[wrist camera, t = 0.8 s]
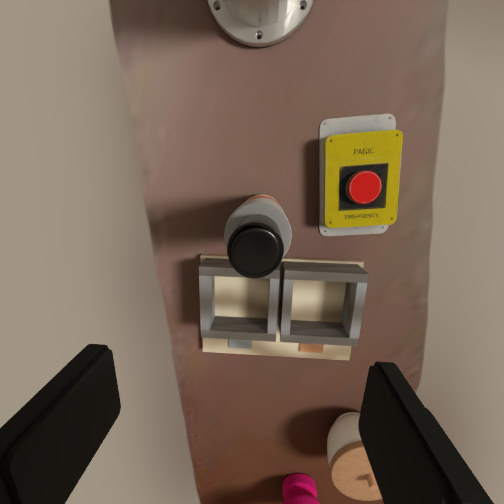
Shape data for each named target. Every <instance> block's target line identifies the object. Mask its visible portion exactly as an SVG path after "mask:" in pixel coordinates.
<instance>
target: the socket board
mask: <svg viewBox="0 0 504 504" xmlns="http://www.w3.org/2000/svg"><path fill="white" fill-rule="evenodd" d="M200 260H201V265H200V266H199V290H200V324H201V338H203V352H218V353H234V354H251V355H268V356H285V357H301V358H318V359H335V360H349V358H350V352H351V346H358V339H359V333H360V327H361V320H362V314H363V308H364V301H365V295H366V289H367V282H368V276H369V274H368V273H367V272H366V271H365V270H364V269H363V265H364V262H363V261H362V260H343V259H319V258H295V257H283V258H282V261H281V263H280V264H279V266H278V267H277V268H276V269H275V270H274V271H273V272H272V273H271V274H269V275H267V276H265V277H262V278H248V277H245V276H242V275H241V274H239V273H238V272H237V271H236V270H235V269H234V268H233V267H232V265H231V263H230V261H229V258H228V255H223V254H201V255H200Z"/></svg>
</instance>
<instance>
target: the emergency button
mask: <svg viewBox="0 0 504 504" xmlns="http://www.w3.org/2000/svg"><path fill="white" fill-rule="evenodd" d="M395 126H396V121H395V117H394V116H393V115H392V114H378V115H367V116H355V117H344V118H332V119H326V120H324V121H323V122H322V123H321V124H320V129H319V230H320V233H321V234H322V235H323V236H340V235H359V234H378V233H383V232H385V231H386V230H387V228H388V225H391V224H393V223H394V222H395V221H396V218H397V206H398V193H399V180H400V168H401V155H402V142H403V134H402V132H401V131H400V130H395Z"/></svg>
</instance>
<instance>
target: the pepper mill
mask: <svg viewBox="0 0 504 504" xmlns="http://www.w3.org/2000/svg"><path fill="white" fill-rule="evenodd" d="M282 487H283V497H284V501H283V503H282V504H320V503H319V501H318V500H317V499H316V498H317V491H316V485H315V482H314V480H313V479H312V478H311V477H310V476H308V475H306V474H302V473H294V474H291V475H289V476H287V477H286V478H285V479H284V481H283V484H282Z"/></svg>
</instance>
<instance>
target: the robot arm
mask: <svg viewBox="0 0 504 504" xmlns="http://www.w3.org/2000/svg"><path fill="white" fill-rule="evenodd" d="M207 1H208V4H209V7H210V10H211V12H212V14H213V16H214V18H215V20H216V22H217V23H218V24H219V26H220V27H221V28H222V30H223V31H224V32H225V33H226V34H228V35H229V36H230V37H231V38H232V39H234V40H236V41H238V42H239V43H241V44H244V45H248V46H251V47H265V46H271V45H274V44H276V43H279V42H282V41H283V40H285V39H286V38H288V37H289V36H291V35H292V34H293V33H294V32H295V31H296V30H297V29H298V28H299V27H300V25H301V24H302V23H303V21H304V20H305V19H306V17H307V15H308V13H309V11H310V9H311V7H312V4H313V1H314V0H207ZM301 8H303V9H304V10H301ZM217 9H219V10H217ZM258 37H261V39H257V38H258ZM120 408H121V405H120V398H119V391H118V385H117V379H116V372H115V366H114V360H113V354H112V351H111V350H110V349H109V348H108V346H107V345H99V344H89V345H87V346H86V347H85V348H84V349H83V350H82V351H81V352H80V353H79V354H77V355H76V356H75V357H74V358H73V359H72V360H71V361H70V362H69V363H68V364H67V365H66V366H65V367H64V368H63V369H62V370H61V371H60V372H59V373H58V374H57V375H56V376H55V377H53V379H52V380H50V381H49V382H48V383H47V384H46V385H45V386H44V387H43V388H42V389H41V390H40V391H39V392H38V393H37V394H36V395H35V396H34V397H33V398H32V399H30V401H28V402H27V403H26V404H25V406H23V407H22V408H21V409H20V410H19V411H18V412H17V413H16V414H15V415H14V416H13V417H12V418H11V419H10V420H9V421H8V422H6V424H4V425H3V426H2V427H1V428H0V504H65V502H66V501H67V499H68V497H69V496H70V494H71V492H72V491H73V489H74V488H75V486H76V484H77V483H78V481H79V479H80V478H81V476H82V475H83V473H84V471H85V470H86V468H87V466H88V465H89V463H90V461H91V460H92V458H93V457H94V455H95V453H96V452H97V450H98V448H99V447H100V445H101V444H102V442H103V440H104V439H105V437H106V435H107V434H108V432H109V430H110V429H111V427H112V426H113V424H114V422H115V420H116V419H117V417H118V415H119V413H120ZM358 429H359V434H360V437H361V440H362V443H363V446H364V448H365V451H366V454H367V457H368V460H369V463H370V465H371V468H372V471H373V474H374V477H375V479H376V482H377V485H378V488H379V491H380V494H381V496H382V499H383V502H384V504H494V503H493V502H492V500H491V499H490V498H489V496H488V495H487V493H486V492H485V490H484V489H483V487H482V486H481V484H480V483H479V482H478V480H477V479H476V477H475V476H474V474H473V473H472V471H471V470H470V468H469V467H468V466H467V464H466V463H465V461H464V460H463V458H462V457H461V455H460V454H459V452H458V451H457V449H456V448H455V447H454V445H453V444H452V442H451V441H450V439H449V438H448V436H447V435H446V434H445V432H444V431H443V429H442V428H441V426H440V425H439V423H438V422H437V420H436V419H435V417H434V416H433V415H432V413H431V412H430V411H429V410H428V409H427V408H425V407H424V405H423V404H422V403H421V401H420V400H419V398H418V397H417V395H416V394H415V392H414V391H413V389H412V388H411V386H410V385H409V383H408V382H407V380H406V379H405V377H404V376H403V374H402V373H401V371H400V370H399V368H398V367H397V366H396V364H395V363H391V362H375V364H374V366H370V368H369V372H368V377H367V382H366V387H365V392H364V397H363V402H362V407H361V412H360V417H359V422H358Z"/></svg>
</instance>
